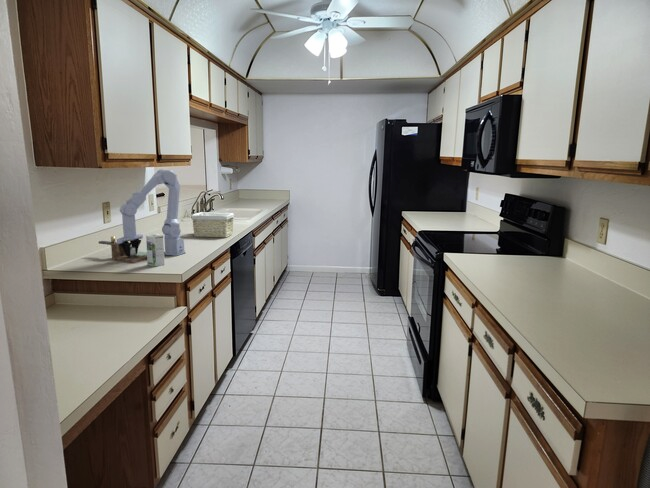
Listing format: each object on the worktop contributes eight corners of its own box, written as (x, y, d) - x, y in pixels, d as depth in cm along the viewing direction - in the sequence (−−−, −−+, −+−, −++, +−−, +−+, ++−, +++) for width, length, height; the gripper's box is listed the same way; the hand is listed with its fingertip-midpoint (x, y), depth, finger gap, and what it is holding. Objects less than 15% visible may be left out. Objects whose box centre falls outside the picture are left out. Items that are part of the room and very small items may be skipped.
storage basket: (191, 237, 269) (190, 214, 266) (201, 232, 285) (200, 211, 282) (227, 238, 267) (226, 215, 264) (235, 234, 283) (234, 212, 280)
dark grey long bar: (123, 245, 210) (123, 237, 209) (119, 246, 208) (119, 238, 207) (102, 242, 215) (102, 234, 214) (98, 243, 212) (98, 235, 211)
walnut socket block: (148, 258, 211) (147, 244, 209) (133, 262, 201) (132, 247, 200) (124, 255, 216) (123, 241, 215) (108, 259, 207) (106, 244, 205)
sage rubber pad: (151, 253, 221) (151, 253, 221) (140, 256, 214) (139, 256, 214) (138, 252, 224) (138, 251, 224) (126, 255, 217) (126, 254, 217)
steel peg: (137, 258, 209) (137, 246, 208) (131, 260, 206) (130, 248, 204) (131, 257, 211) (130, 246, 209) (125, 259, 207) (124, 247, 206)
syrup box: (147, 265, 198) (145, 235, 195) (157, 262, 203) (156, 233, 200) (154, 266, 195) (152, 236, 192) (165, 264, 200) (163, 234, 197)
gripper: (124, 230, 197) (126, 258, 200) (146, 226, 210) (148, 252, 213) (112, 229, 199) (114, 257, 202) (135, 225, 213) (137, 251, 215)
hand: (131, 255), depth 208 cm, fingers closed on steel peg, 4 cm apart
